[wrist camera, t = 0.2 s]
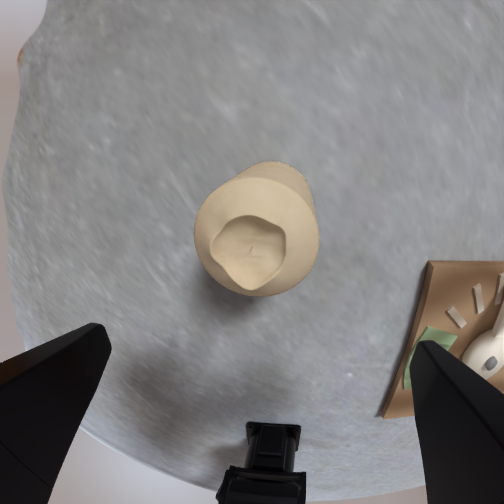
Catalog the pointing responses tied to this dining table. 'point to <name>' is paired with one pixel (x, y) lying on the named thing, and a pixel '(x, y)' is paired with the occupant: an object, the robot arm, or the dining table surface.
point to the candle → (259, 231)
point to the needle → (487, 350)
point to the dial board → (450, 319)
